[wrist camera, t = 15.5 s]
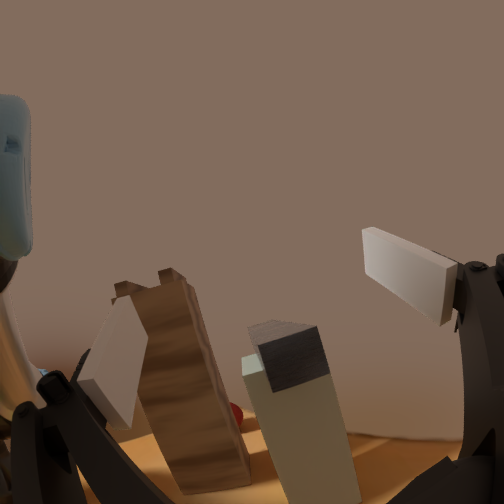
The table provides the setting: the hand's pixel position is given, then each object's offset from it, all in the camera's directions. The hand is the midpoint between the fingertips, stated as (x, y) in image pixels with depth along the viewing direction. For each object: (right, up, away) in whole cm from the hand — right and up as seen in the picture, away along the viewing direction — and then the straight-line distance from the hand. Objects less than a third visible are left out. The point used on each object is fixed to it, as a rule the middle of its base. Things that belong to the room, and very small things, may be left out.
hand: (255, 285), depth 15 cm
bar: (+2, -8, +11) cm, 14 cm away
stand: (-5, -32, +18) cm, 37 cm away
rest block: (+8, -26, +8) cm, 28 cm away
